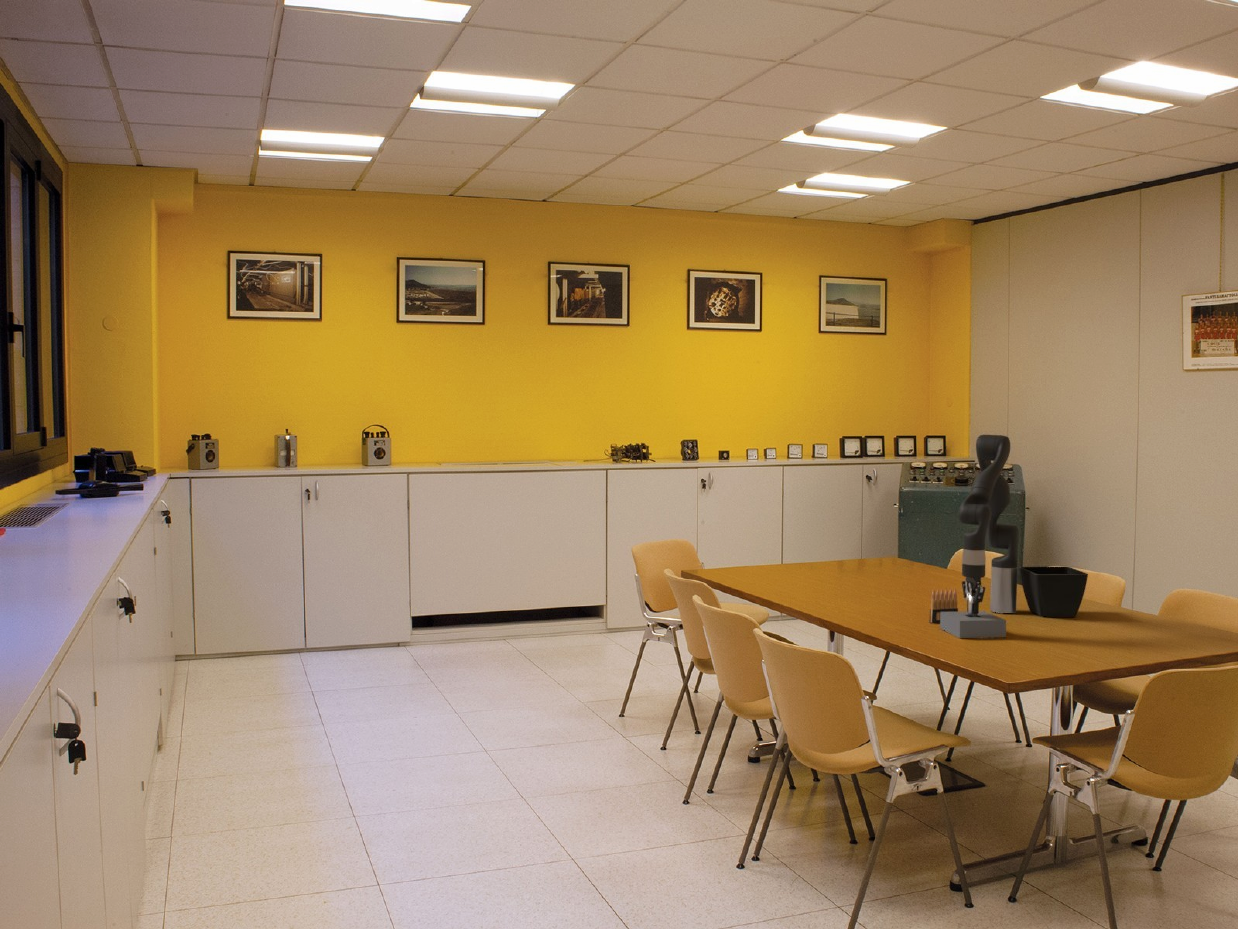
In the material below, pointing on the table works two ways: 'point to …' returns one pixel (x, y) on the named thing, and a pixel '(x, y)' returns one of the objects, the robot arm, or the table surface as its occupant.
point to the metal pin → (970, 606)
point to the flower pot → (1053, 590)
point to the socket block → (973, 625)
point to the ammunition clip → (942, 604)
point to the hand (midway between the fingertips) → (972, 612)
